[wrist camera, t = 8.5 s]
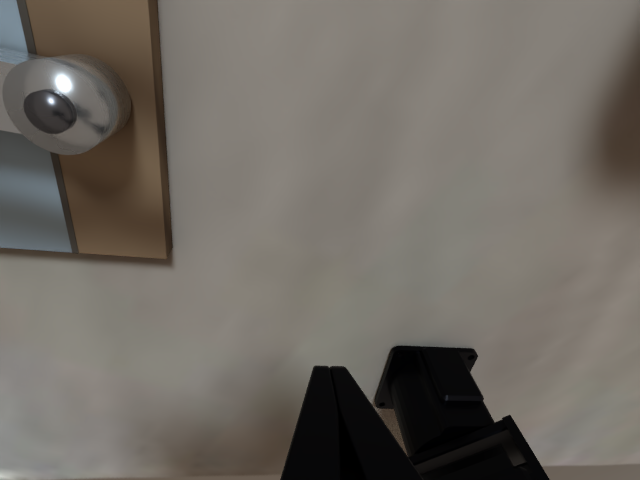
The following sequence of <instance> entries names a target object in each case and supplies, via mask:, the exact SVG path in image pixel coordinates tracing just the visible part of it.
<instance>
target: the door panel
mask: <svg viewBox="0 0 640 480" xmlns="http://www.w3.org/2000/svg"><path fill="white" fill-rule="evenodd" d="M0 47H3V48H7V49H12V50H17V51H21V52H26V53H30V54H35V55H39V56H44V57H56V56H63V55H71V54H83V55H88V56H92V57H94V58H97V59H99V60H101V61H102V62H104V63H106V64H107V65H108V66H110V67H111V68H112V69H113V70H114V71H115V72H116V73H117V74H118V75H119V76H120V78H121V79H122V81H123V82H124V84H125V86H126V88H127V90H128V93H129V96H130V100H131V112H130V116H129V119H128V121H127V123H126V124H125V126H124V127H123V128H122V129H121V130H119V131H118V132H116V133H115V134H113V135H112V136H110V137H109V138H107V139H105V140H104V141H102V142H101V143H99V144H98V145H96V146H95V147H93V148H92V149H90V150H88V151H86V152H84V153H81V154H76V155H62V154H57V153H53V152H50V151H47V150H45V149H43V148H41V147H39V146H37V145H35V144H34V143H33V142H31V141H30V140H28V139H27V138H26V137H25V136H24V135H23V134H19V133H13V132H8V131H2V130H0V248H14V249H29V250H43V251H58V252H72V253H87V254H101V255H115V256H130V257H144V258H159V259H167V257H168V255H169V253H170V251H171V249H172V233H171V217H170V201H169V185H168V169H167V153H166V136H165V120H164V104H163V88H162V72H161V56H160V40H159V24H158V7H157V0H0Z"/></svg>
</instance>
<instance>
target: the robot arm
mask: <svg viewBox="0 0 640 480" xmlns="http://www.w3.org/2000/svg"><path fill="white" fill-rule="evenodd" d="M477 357H478V355H477V353H476V351H475V350H474V349H471V348H446V347H420V346H396V347H394V348H393V349H392V351H391V354H390V357H389V360H388V363H387V366H386V368H385V371H384V374H383V377H382V380H381V383H380V386H379V389H378V392H377V395H376V398H375V404H376V407H377V408H381V409H394V411H395V414H396V417H397V421H398V424H399V428H400V431H401V435H402V438H403V441H404V445H405V448H406V452H407V455H408V457H407V455H406V454H405V452H404V451H403V449H402V448H401V446H400V445H399V443H398V442H397V441H396V439H395V438H394V436H393V435H392V433H391V432H390V430H389V429H388V428H387V426H386V425H385V423H384V422H383V420H382V419H381V417H380V416H379V415H378V413H377V412H376V410H375V409H374V407H373V406H372V404H371V403H370V402H369V400H368V399H367V397H366V396H365V394H364V393H363V391H362V390H361V388H360V387H359V386H358V384H357V383H356V381H355V380H354V378H353V377H352V375H351V374H350V373H349V371H348V370H347V368H345V367H343V366H331V367H330V368H329V367H328V366H314V367H313V370H312V374H311V377H310V381H309V384H308V387H307V391H306V394H305V398H304V401H303V404H302V408H301V411H300V415H299V418H298V421H297V425H296V428H295V432H294V435H293V438H292V442H291V445H290V449H289V452H288V455H287V459H286V462H285V466H284V469H283V472H282V476H281V479H280V480H549V478H548V476H547V475H546V473H545V472H544V470H543V468H542V466H541V465H540V463H539V461H538V460H537V458H536V456H535V455H534V453H533V451H532V450H531V448H530V447H529V445H528V443H527V442H526V440H525V438H524V437H523V435H522V433H521V432H520V430H519V428H518V427H517V425H516V424H515V422H514V420H513V419H512V417H511V415H508V416H506V417H503V418H502V419H503V420H500V421H498V422H494V421H493V419H492V417H491V415H490V413H489V411H488V409H487V407H486V406H485V404H484V402H483V400H484V398H483V395H482V394H481V392H480V390H479V388H478V386H477V384H476V383H475V381H474V379H473V377H472V375H471V373H470V371H471V369H472V367H473V365H474V363H475V361H476V360H477Z"/></svg>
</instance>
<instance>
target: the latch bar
mask: <svg viewBox="0 0 640 480" xmlns="http://www.w3.org/2000/svg"><path fill="white" fill-rule="evenodd" d="M130 112H131V100H130V96H129V93H128V90H127V88H126V86H125V84H124V82H123V81H122V79H121V78H120V76H119V75H118V74H117V73H116V72H115V71H114V70H113V69H112V68H111V67H110V66H108V65H107V64H106V63H104V62H102V61H101V60H99V59H97V58H94V57H92V56H88V55H83V54H71V55H63V56H56V57H44V56H39V55H35V54H30V53H26V52H21V51H17V50H12V49H7V48H3V47H0V130H2V131H8V132H13V133H19V134H23V135H24V136H25V137H26V138H27V139H28V140H30V141H31V142H33V143H34V144H35V145H37V146H39V147H41V148H43V149H45V150H47V151H50V152H53V153H57V154H62V155H76V154H81V153H84V152H86V151H88V150H90V149H92V148H93V147H95V146H96V145H98V144H99V143H101V142H102V141H104V140H105V139H107V138H109V137H110V136H112V135H113V134H115V133H116V132H118V131H119V130H121V129H122V128H123V127H124V126H125V124H126V123H127V121H128V119H129V116H130Z"/></svg>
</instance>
